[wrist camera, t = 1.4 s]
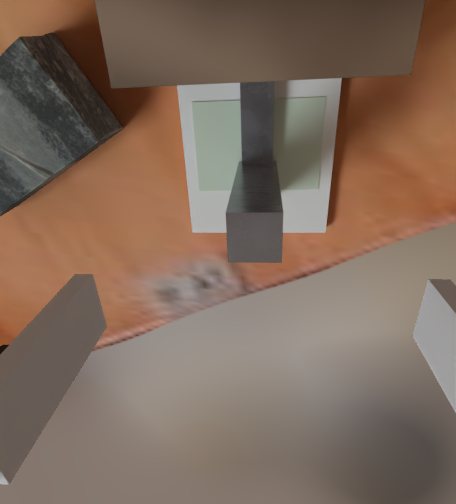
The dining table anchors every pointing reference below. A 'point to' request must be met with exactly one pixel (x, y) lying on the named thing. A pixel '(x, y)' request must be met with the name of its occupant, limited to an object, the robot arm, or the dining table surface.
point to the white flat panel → (284, 150)
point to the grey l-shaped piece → (256, 183)
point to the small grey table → (256, 40)
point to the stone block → (45, 117)
